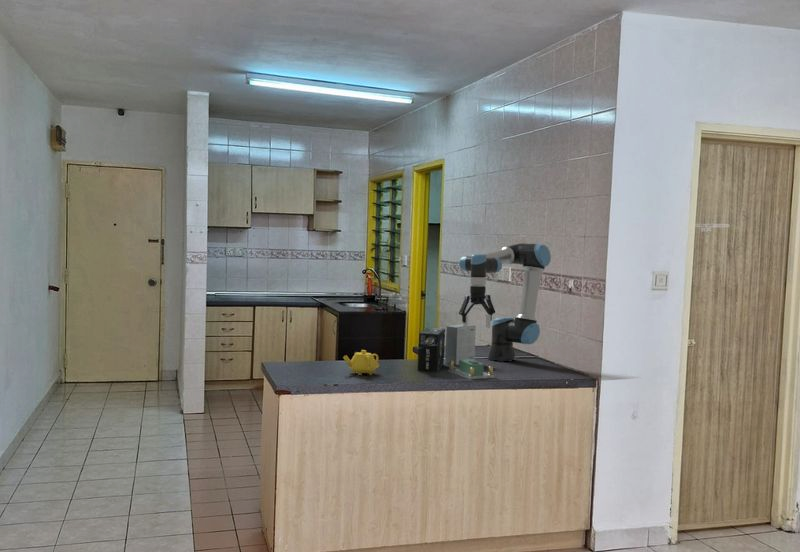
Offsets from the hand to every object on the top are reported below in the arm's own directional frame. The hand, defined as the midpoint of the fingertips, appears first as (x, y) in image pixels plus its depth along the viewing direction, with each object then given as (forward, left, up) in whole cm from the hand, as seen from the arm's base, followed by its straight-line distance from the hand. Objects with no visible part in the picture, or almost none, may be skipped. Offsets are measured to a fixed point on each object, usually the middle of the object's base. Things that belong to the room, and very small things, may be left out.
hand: (476, 328), depth 361 cm
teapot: (+59, -8, -21) cm, 63 cm away
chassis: (+8, +8, -21) cm, 24 cm away
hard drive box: (-4, -21, -21) cm, 30 cm away
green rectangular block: (+8, +8, -20) cm, 23 cm away
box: (+18, -13, -21) cm, 31 cm away
